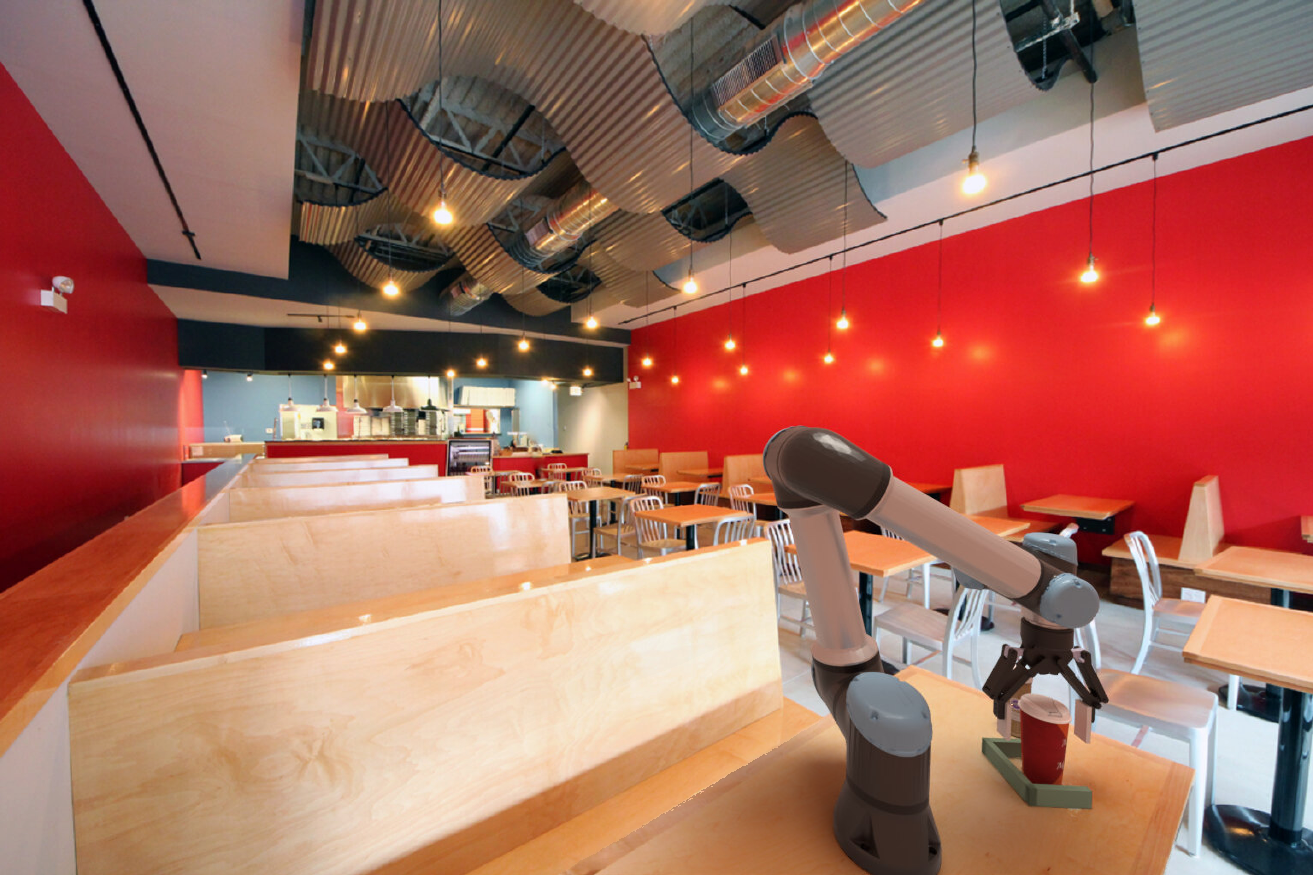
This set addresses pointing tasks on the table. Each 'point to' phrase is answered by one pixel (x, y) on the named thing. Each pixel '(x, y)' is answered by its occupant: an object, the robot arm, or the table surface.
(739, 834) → the table surface
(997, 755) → the green pocket
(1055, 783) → the paper cup
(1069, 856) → the table surface
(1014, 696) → the sprinkles bottle
